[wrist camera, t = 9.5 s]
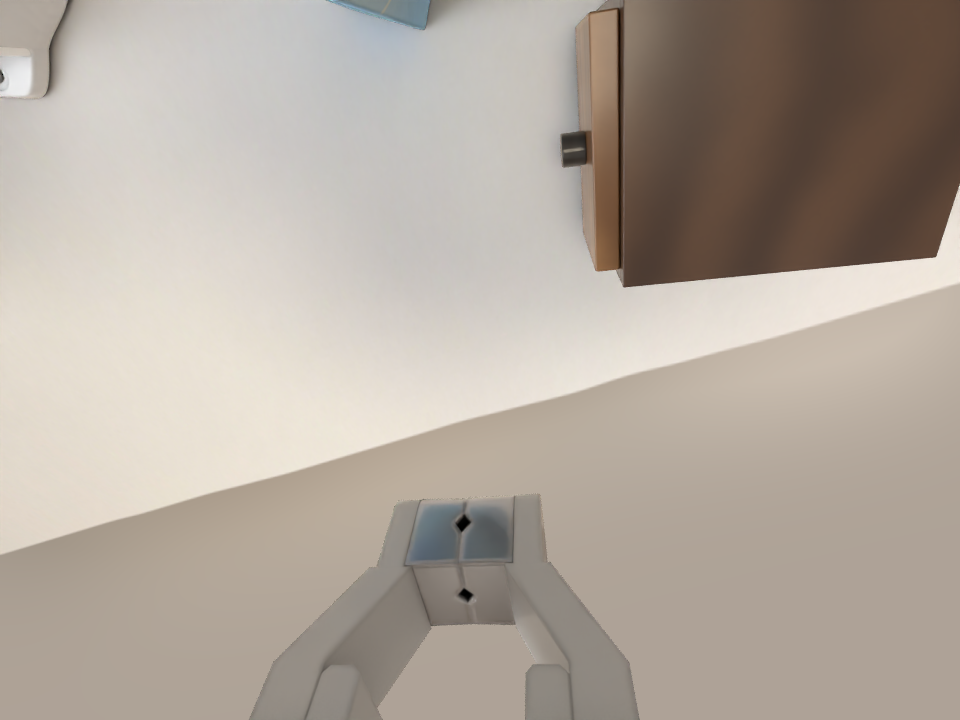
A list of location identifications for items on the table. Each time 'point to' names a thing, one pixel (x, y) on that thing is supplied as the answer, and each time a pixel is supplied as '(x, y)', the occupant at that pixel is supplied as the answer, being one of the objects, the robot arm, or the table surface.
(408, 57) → the table surface
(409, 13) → the gum box
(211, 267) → the table surface
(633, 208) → the cabinet
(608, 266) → the wooden drawer
